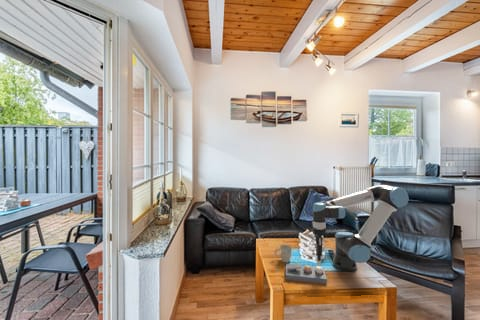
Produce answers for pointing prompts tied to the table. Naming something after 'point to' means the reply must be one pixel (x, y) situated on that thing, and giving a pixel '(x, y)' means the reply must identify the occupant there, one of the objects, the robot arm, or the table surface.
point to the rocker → (294, 266)
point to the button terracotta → (307, 269)
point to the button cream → (319, 270)
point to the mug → (284, 252)
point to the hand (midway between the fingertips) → (318, 264)
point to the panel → (305, 275)
